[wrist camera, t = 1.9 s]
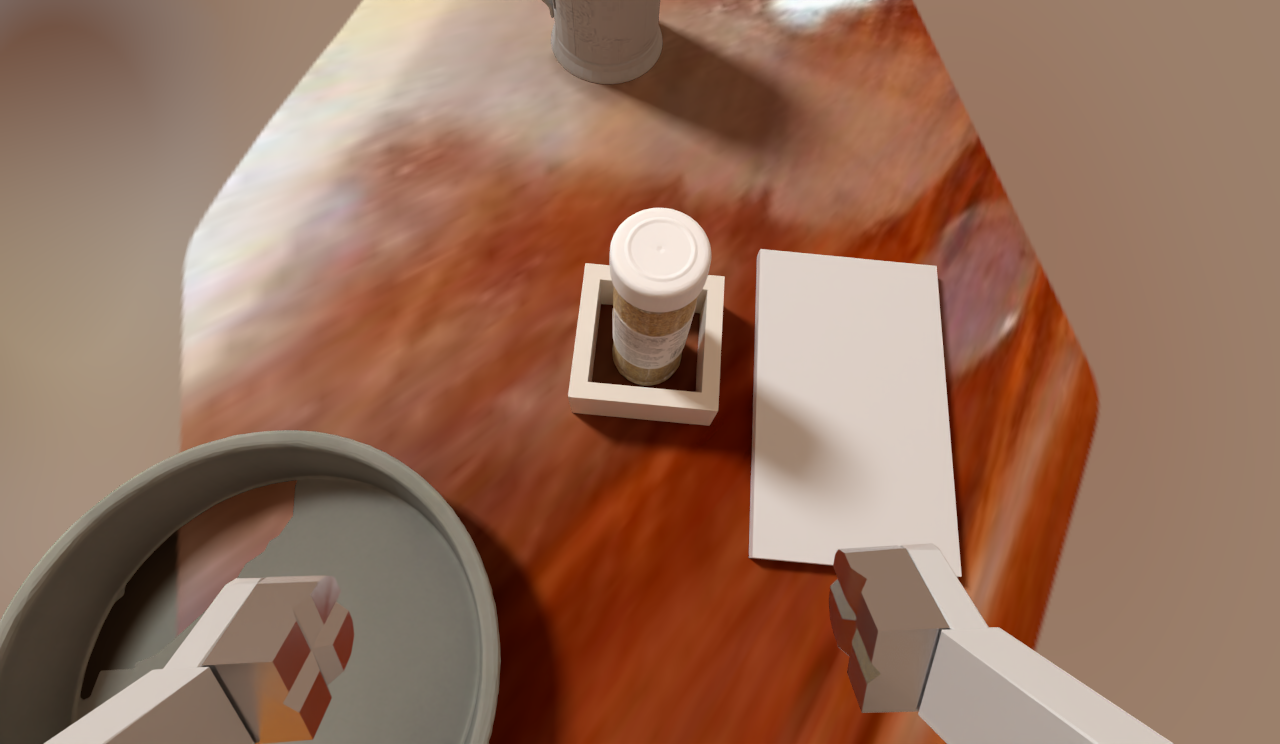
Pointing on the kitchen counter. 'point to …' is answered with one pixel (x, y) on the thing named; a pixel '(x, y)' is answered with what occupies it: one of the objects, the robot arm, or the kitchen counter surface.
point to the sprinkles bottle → (655, 291)
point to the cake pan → (308, 546)
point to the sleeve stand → (643, 399)
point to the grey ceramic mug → (606, 38)
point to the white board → (848, 410)
